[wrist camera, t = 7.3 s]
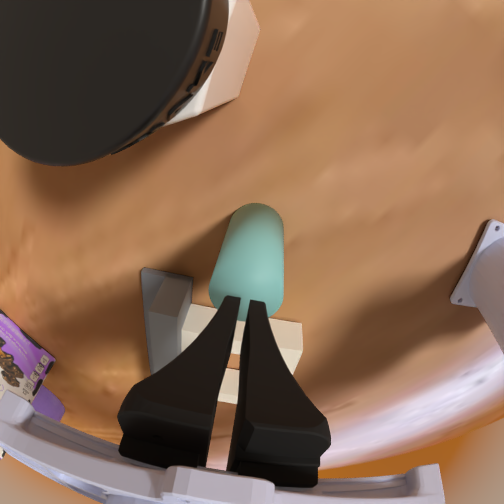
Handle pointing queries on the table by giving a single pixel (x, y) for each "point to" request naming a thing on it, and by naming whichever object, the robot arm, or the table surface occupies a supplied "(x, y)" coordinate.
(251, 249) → the dowel
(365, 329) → the table surface
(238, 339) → the block
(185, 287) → the wall
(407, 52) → the table surface
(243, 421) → the robot arm
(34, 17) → the jar
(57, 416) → the tape roll
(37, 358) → the candy box
